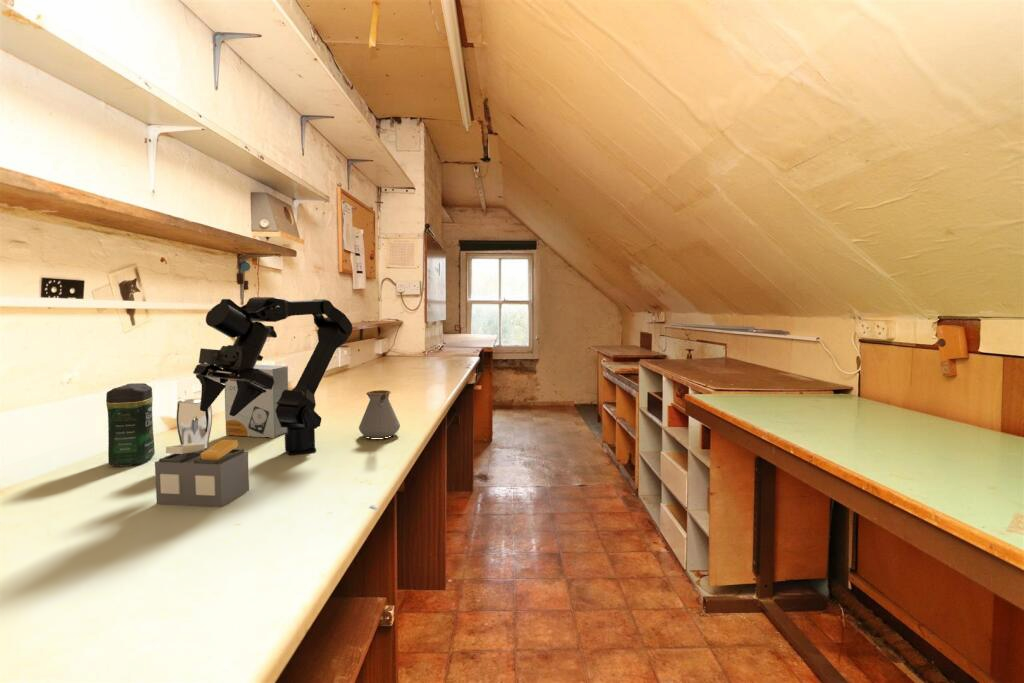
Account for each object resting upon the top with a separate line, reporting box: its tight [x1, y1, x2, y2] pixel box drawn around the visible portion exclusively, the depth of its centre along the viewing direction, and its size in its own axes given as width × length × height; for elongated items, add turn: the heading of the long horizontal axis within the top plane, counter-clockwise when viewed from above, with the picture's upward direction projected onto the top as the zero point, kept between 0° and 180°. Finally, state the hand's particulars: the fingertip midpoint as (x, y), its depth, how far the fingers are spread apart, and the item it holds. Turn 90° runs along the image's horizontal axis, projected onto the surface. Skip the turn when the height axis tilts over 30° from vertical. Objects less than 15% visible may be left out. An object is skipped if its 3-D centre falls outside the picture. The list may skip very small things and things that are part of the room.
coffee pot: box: [358, 389, 401, 438], centre depth 134 cm, size 21×12×15 cm, turn 20°
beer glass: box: [175, 398, 213, 448], centre depth 113 cm, size 7×7×15 cm
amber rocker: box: [201, 439, 239, 460], centre depth 93 cm, size 6×3×1 cm, turn 175°
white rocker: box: [165, 444, 205, 455], centre depth 94 cm, size 6×3×1 cm, turn 175°
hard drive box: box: [224, 364, 289, 439], centre depth 140 cm, size 16×8×20 cm, turn 80°
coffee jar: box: [105, 382, 156, 467], centre depth 115 cm, size 10×8×19 cm
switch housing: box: [154, 447, 250, 508], centre depth 94 cm, size 8×13×8 cm, turn 85°
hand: (216, 413), depth 103 cm, fingers open, 9 cm apart
